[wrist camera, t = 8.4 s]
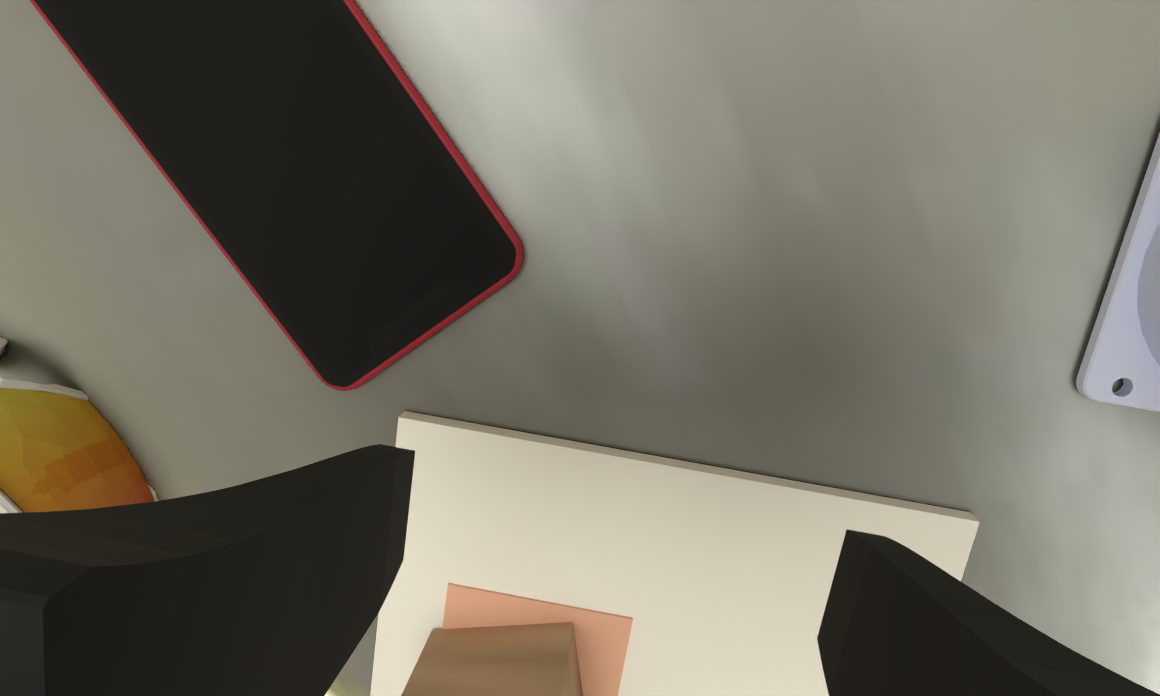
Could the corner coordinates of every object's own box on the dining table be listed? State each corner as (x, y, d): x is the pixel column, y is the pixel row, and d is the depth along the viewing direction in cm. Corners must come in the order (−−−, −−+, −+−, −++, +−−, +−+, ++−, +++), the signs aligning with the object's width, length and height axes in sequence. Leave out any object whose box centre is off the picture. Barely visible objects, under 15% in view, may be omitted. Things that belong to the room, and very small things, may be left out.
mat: (970, 512, 21) (981, 523, 20) (845, 908, 24) (851, 929, 24) (405, 410, 21) (397, 418, 21) (363, 809, 25) (356, 826, 24)
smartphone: (187, -235, 18) (534, 263, 20) (209, -215, 19) (539, 260, 20) (-6, -43, 19) (335, 403, 21) (22, -33, 20) (347, 394, 22)
